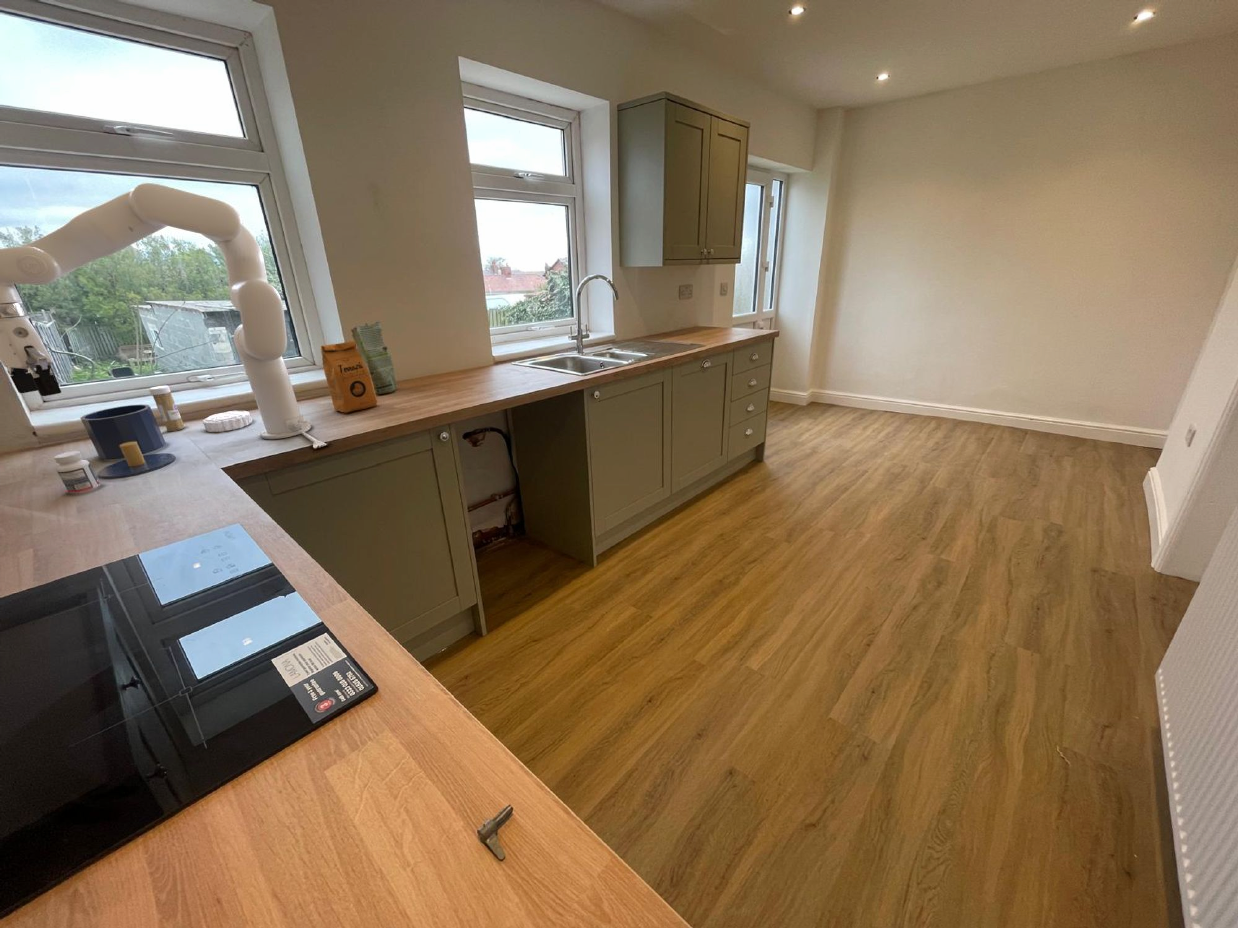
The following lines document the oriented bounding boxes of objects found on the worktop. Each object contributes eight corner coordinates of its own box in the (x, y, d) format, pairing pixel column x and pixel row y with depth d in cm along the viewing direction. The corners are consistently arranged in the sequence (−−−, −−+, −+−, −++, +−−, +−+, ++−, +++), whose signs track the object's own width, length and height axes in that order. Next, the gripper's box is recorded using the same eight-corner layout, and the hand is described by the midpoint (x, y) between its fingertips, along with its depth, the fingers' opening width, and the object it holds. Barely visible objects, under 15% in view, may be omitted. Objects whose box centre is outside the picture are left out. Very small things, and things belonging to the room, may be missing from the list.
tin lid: (190, 459, 130) (180, 435, 127) (124, 483, 117) (111, 457, 115) (152, 455, 134) (142, 431, 132) (85, 477, 122) (72, 452, 119)
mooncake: (197, 430, 153) (192, 419, 152) (236, 418, 163) (233, 408, 162) (222, 434, 149) (217, 422, 147) (261, 421, 159) (257, 410, 158)
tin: (177, 444, 141) (161, 405, 137) (121, 463, 130) (101, 421, 125) (146, 441, 146) (129, 403, 141) (88, 459, 134) (67, 418, 129)
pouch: (367, 397, 181) (349, 326, 171) (366, 390, 191) (349, 323, 181) (400, 392, 185) (384, 323, 176) (397, 386, 195) (382, 320, 185)
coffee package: (382, 406, 168) (366, 340, 160) (343, 416, 160) (324, 347, 152) (369, 402, 175) (353, 338, 166) (332, 411, 167) (313, 344, 158)
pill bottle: (83, 485, 117) (65, 450, 114) (107, 484, 117) (89, 449, 114) (62, 496, 112) (42, 459, 109) (87, 494, 113) (68, 457, 109)
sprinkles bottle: (184, 429, 155) (167, 387, 149) (165, 432, 153) (147, 389, 147) (186, 425, 158) (169, 384, 153) (168, 429, 156) (150, 386, 151)
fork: (309, 433, 147) (307, 427, 146) (332, 448, 134) (330, 442, 133) (296, 436, 145) (294, 430, 144) (318, 452, 132) (316, 445, 131)
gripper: (45, 311, 104) (83, 391, 111) (6, 310, 110) (43, 386, 117) (-7, 315, 98) (36, 400, 104) (-45, 315, 104) (-3, 395, 111)
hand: (40, 393), depth 111 cm, fingers open, 9 cm apart
